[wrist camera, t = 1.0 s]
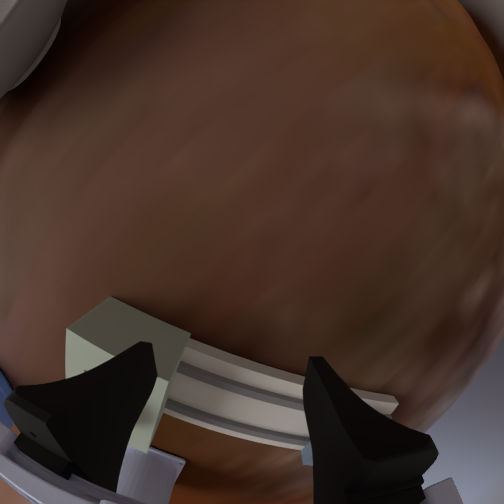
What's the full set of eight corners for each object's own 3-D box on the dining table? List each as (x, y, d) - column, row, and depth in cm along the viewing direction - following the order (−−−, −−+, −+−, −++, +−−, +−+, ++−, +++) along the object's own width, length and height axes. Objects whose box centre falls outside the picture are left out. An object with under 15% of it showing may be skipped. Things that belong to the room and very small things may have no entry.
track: (348, 449, 25) (361, 490, 18) (99, 373, 23) (67, 412, 16) (396, 392, 23) (422, 433, 16) (110, 296, 22) (66, 328, 15)
